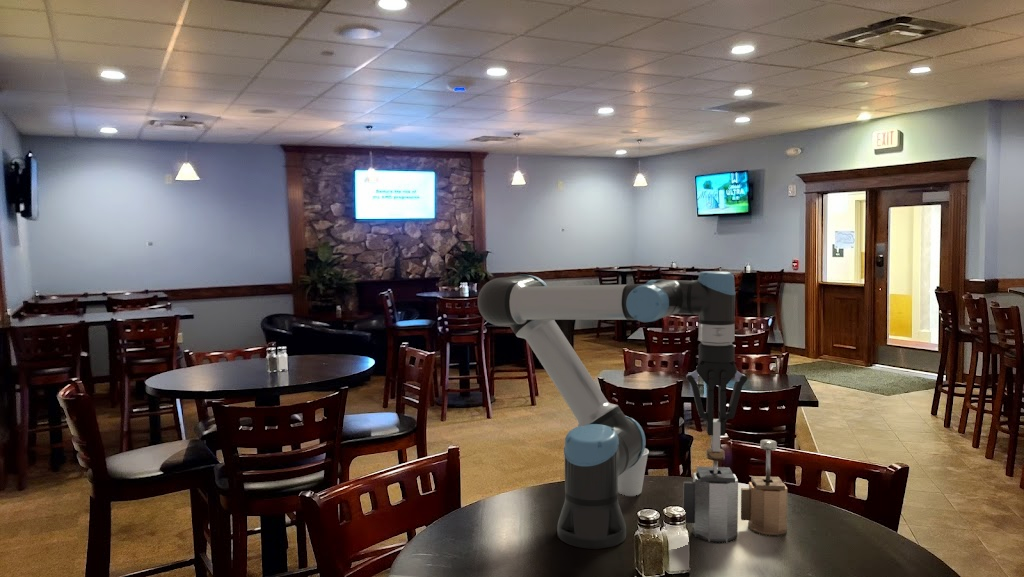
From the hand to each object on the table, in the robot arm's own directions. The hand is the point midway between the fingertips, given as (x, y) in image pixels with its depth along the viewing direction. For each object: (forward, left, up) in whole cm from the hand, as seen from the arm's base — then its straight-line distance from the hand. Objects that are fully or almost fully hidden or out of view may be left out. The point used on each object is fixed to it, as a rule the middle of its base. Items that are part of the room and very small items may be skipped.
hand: (715, 449), depth 159 cm
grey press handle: (+12, +4, -10) cm, 16 cm away
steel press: (0, 0, -19) cm, 19 cm away
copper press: (+12, +4, -19) cm, 23 cm away
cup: (-18, +24, -19) cm, 36 cm away
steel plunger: (0, 0, -13) cm, 13 cm away
